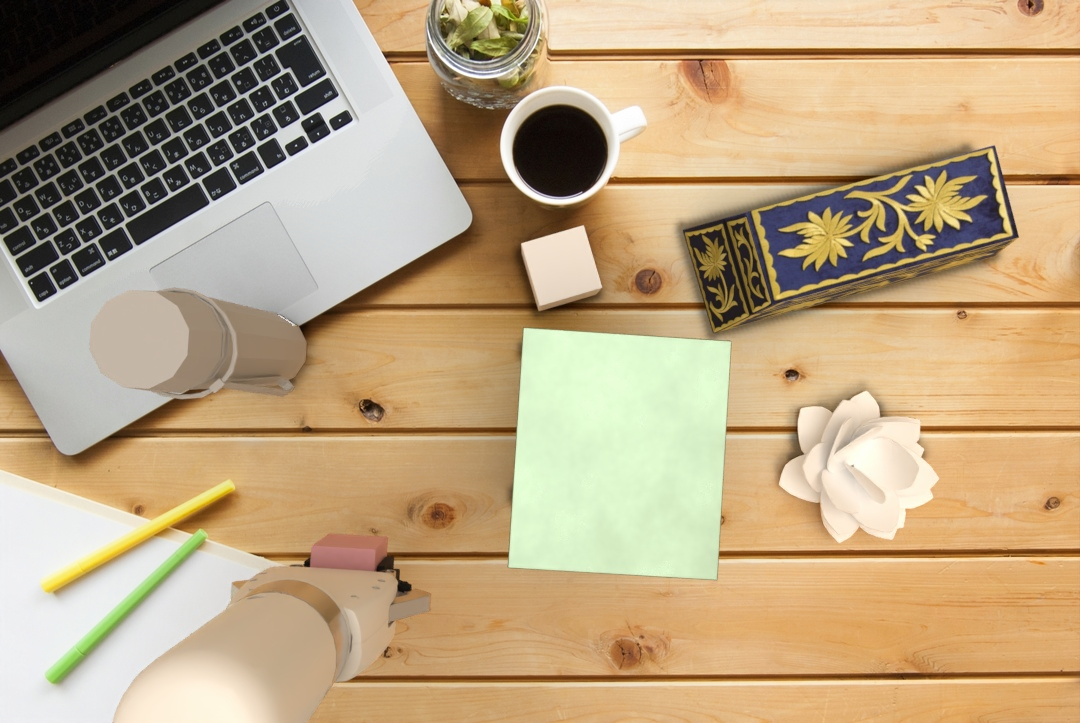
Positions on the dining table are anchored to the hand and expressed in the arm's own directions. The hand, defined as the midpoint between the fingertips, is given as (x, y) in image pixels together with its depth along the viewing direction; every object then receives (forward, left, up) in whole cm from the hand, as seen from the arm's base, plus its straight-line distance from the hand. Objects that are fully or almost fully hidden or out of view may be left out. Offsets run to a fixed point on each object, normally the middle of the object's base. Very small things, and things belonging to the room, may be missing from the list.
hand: (354, 572), depth 61 cm
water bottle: (+18, +11, -11) cm, 24 cm away
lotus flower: (+11, -46, -11) cm, 48 cm away
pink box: (0, 0, 0) cm, 0 cm away
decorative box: (+33, -44, -11) cm, 56 cm away
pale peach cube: (+28, -16, -11) cm, 34 cm away
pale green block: (+13, -20, -11) cm, 26 cm away
